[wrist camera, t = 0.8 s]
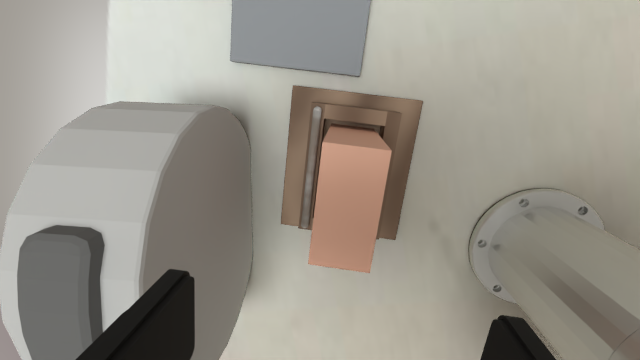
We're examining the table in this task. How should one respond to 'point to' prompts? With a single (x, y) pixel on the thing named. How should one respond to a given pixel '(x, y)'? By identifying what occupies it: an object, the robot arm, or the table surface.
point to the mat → (300, 34)
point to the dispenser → (355, 110)
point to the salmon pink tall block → (349, 198)
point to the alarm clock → (128, 225)
